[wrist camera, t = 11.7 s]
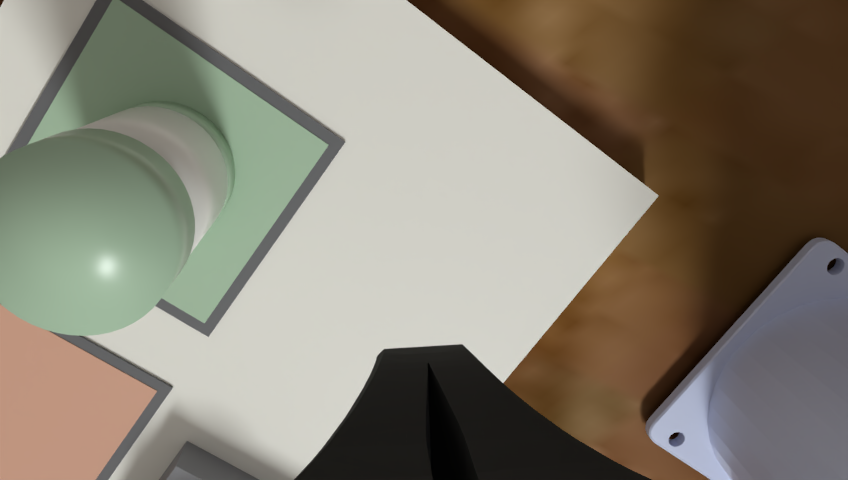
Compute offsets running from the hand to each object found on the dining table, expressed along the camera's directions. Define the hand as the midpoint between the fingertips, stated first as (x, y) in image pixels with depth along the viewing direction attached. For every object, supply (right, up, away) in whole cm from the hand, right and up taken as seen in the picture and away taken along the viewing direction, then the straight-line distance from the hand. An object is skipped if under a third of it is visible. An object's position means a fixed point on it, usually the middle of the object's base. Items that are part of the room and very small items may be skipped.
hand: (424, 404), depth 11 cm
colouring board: (-6, +1, +9) cm, 11 cm away
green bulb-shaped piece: (-6, +4, +7) cm, 10 cm away
